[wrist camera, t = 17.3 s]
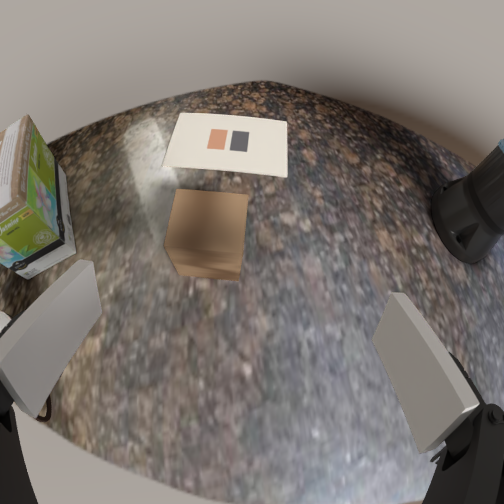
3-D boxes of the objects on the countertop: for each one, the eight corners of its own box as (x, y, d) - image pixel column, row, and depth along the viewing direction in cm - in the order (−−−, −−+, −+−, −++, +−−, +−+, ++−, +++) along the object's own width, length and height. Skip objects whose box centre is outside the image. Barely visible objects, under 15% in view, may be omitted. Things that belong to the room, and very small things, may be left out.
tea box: (80, 253, 32) (18, 195, 18) (28, 281, 29) (-41, 240, 15) (67, 174, 36) (28, 110, 22) (22, 201, 33) (-25, 149, 20)
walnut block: (242, 234, 34) (248, 195, 26) (238, 281, 32) (243, 253, 24) (187, 229, 34) (176, 188, 26) (179, 275, 32) (163, 245, 24)
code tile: (286, 122, 43) (286, 121, 42) (286, 177, 38) (287, 176, 38) (180, 113, 42) (180, 112, 41) (162, 166, 37) (161, 165, 37)
